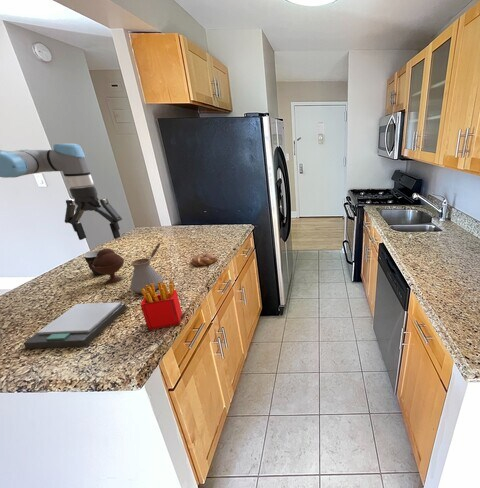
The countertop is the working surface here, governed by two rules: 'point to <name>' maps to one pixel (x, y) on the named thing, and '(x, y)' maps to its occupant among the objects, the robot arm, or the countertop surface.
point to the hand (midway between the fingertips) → (100, 238)
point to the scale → (76, 326)
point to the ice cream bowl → (108, 264)
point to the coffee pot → (144, 274)
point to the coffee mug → (90, 259)
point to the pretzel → (203, 259)
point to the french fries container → (161, 306)
